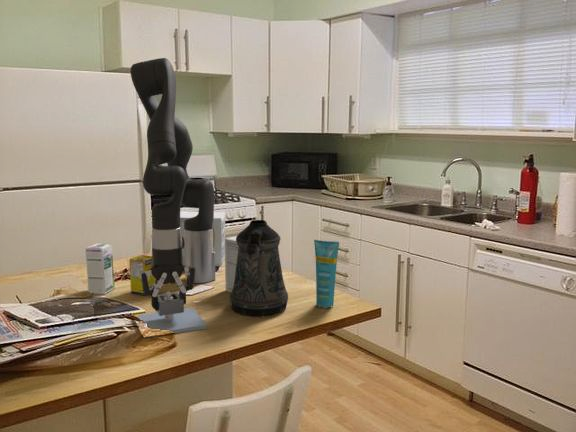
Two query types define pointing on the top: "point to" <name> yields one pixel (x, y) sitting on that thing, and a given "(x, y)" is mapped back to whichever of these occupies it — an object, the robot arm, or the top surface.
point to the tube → (325, 271)
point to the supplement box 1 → (136, 267)
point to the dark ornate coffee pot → (258, 273)
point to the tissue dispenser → (170, 304)
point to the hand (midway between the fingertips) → (168, 307)
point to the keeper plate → (174, 320)
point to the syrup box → (100, 268)
